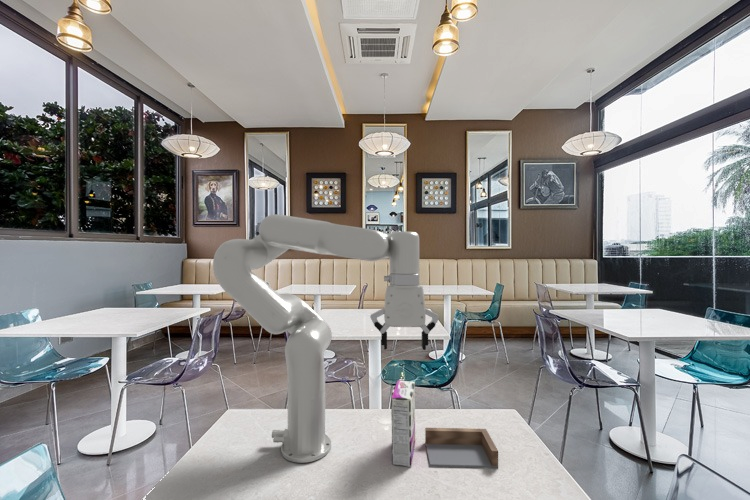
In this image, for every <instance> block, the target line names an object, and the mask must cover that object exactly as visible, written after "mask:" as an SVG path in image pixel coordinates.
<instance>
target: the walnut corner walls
mask: <svg viewBox="0 0 750 500" xmlns="http://www.w3.org/2000/svg"><path fill="white" fill-rule="evenodd" d="M424 434H425V435H424V437H425V439H424V440H425V445H426V444H452V445H482V447H483V449H484V451H485V453H486V455H487V457H488V459H489V461H490V463H491V465H492V466H498V467H499V450H498V448H497V447H496V444H495V442H494V441H493V438H492V437H491V435H490V433H489V432H488V430H487V428H461V427H460V428H459V427H425V429H424Z"/></svg>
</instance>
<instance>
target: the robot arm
mask: <svg viewBox="0 0 750 500" xmlns="http://www.w3.org/2000/svg"><path fill="white" fill-rule="evenodd" d="M288 250H293V251H300V252H305V253H306V252H307V253H311V254H317V255H318V254H319V255H328V256H335V257H341V258H346V259H348V258H349V259H354V260H360V261H366V262H377V261H380V260H386V259H389V274H388V275H383V282H388V283H389V285H386V290H385V295H384V307H382V308H381V309H378V310H377V311H376V312H374V313H371V314H370V320H371V322H372V324H373V326H374V327H375V328H376V329H377V330H378V331H379V332H380V334H381V342H380V343H381V346H383V350H388V332H387V331H388V329H389V328H421V330H422V331H421V348H422V350H424V351H426V350H427V346H429V334H430V332H431V331H432V330H433V329H434V328H436V325H437V323H438V321H439V319H440V315H439V314H437V313H436V312H433V311H431V310H429V309H428V308H426V301H425V300H426V299H425V292H424V287H423V286H422V285H420V235H419V233H417V232H416V231H394V232H392V233H389V232H382V231H379V230H376V229H373V228H371V229H370V228H365V227H358V226H351V225H345V224H338V223H332V222H329V221H325V220H319V219H312V218H306V217H305V218H304V217H299V216H291V215H285V214H275V213H274V214H270V215H267V216H265V217H264V218H262V220H261V221H260V224H259V226H258V235H256V236H254V237H253V238H252V239H246V238H234V239H233V238H232V239H230V240H226V241H224V242H223V243H221V244H220V245H219V246H218V248H216V251H215V253H214V256H213V260H212V261H213V262H212V268H213V269H212V270H213V274H214V277H215V279H216V281H217V283H218V284H219V286H220V287H221V289H222V290H224V292H225V293H226V294H228V295H229V296H230V298H232V299H233V300H234V301H235V302H236V303H237V304H238V305H240V306H241V308H242V309H243V310H244V311H245V312H246V313H247V314H248V315H249V316H250V317H251V318H253V320H255V321H256V323H258V324H259V325H260V326H261V327H262V328H263V329H264V330H265V331H266V332H268V333H269V334H272V335H280V334H283V333H284V332H288V333H289V334H290V335H289V337H288V338H287V340H286V343H285V347H284V355H285V363H286V373H287V428H284V430H283V429H282V430H281V429H272V431H271V439H272V441H273V443H277V444H278V443H281V446H280V448H281V449H280V453H281V455H282V457H283V458H284V459H286V460H287V461H288V462H293V463H297V464H304V463H305V464H306V463H310V462H311V463H312V462H316V461H317V460H320V459H322V458H324V457H326V455H328V453H329V452H330V450H331V448H332V440H331V438H330V437H329V436H328V435H327V434H326V372H325V371H326V370H325V368H326V367H325V360H324V359H325V356H324V355H325V353H326V351H327V349H328V347H329V346H330V344H331V341H332V337H333V334H332V333H333V332H332V330H331V328H330V326H329V324H328V323H327V322H326V321H325V320H324V319H323V317H321V315H319V314H318V313H317V312H316V311H315V310H314V309H313V308H311V307H310V306H309V305H308V303H306V302H305V301H304V300H303V299H302V298H300V297H299V296H297V295H295V294H293V293H282V294H280V293H278V292H277V291H275V290H274V288H272V287H271V286H270V285H269V284H268V283H267V282H266V281H265V280H264V279H262V278H261V277H260V276H258V275H257V274H255V273H254V272H253V271H254V270H258V269H261V268H263V267H265V266H267V265H268V264H270V263H271V262H272V261H274V260H276V259H277V258H278V257H280V256H281V255H283V254H284V253H286V252H287V251H288ZM383 315H384V317H383V318H384V319H383V320H384V323H383V324H382V323H380V321H379V320H378V318H379V317H381V316H383ZM426 315H427V316H428V317H429V318H431V320H430V322H428V324H427V325H426Z"/></svg>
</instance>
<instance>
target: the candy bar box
mask: <svg viewBox="0 0 750 500" xmlns="http://www.w3.org/2000/svg"><path fill="white" fill-rule="evenodd" d="M415 385H416V384H415V381H413V380H401V379H400V380H399V379H398V380H397V381H396V384H395V386H394V390H393V392H392V396H391V398H390V399H391V400H390V402H391V465H393V466H396V467H406V468H411V467H412V465H413V458H414V451H415V445H416V405H415V404H416V403H415V402H416V400H415V399H416V397H415V396H416V394H415V393H416V392H415V391H416V389H415V388H416V387H415Z"/></svg>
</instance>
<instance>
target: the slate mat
mask: <svg viewBox="0 0 750 500" xmlns="http://www.w3.org/2000/svg"><path fill="white" fill-rule="evenodd" d="M425 447H426V452H427V457H428V458H427V459H428V464H429V467H436V468H437V467H438V468H439V467H440V468H441V467H443V468H445V467H446V468H479V469H480V468H482V469H499V465H498V466H492V465H491V463H490V461H489V459H488V457H487V455H486V453H485V451H484V449H483V447H482V445H452V444H425Z"/></svg>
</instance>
